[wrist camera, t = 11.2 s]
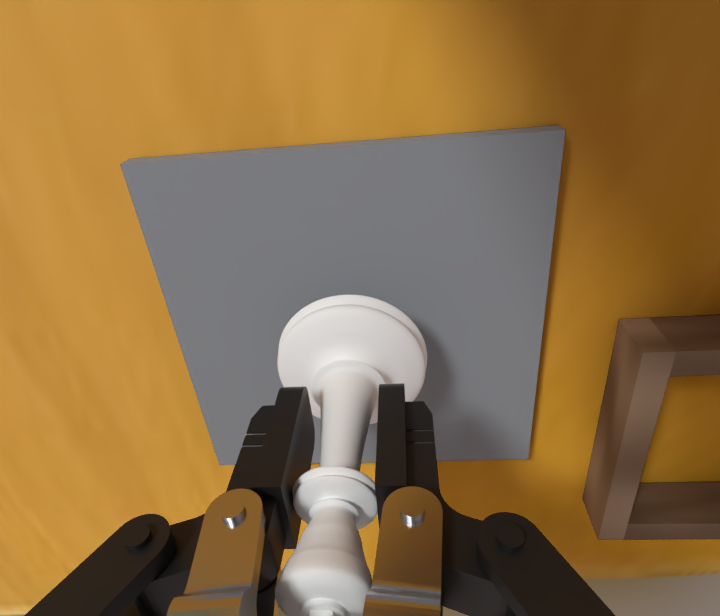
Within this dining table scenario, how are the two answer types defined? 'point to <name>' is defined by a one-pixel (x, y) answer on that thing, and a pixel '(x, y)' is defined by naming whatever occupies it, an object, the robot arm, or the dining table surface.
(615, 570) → the dining table surface
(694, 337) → the square frame
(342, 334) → the chess piece
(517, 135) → the mat
